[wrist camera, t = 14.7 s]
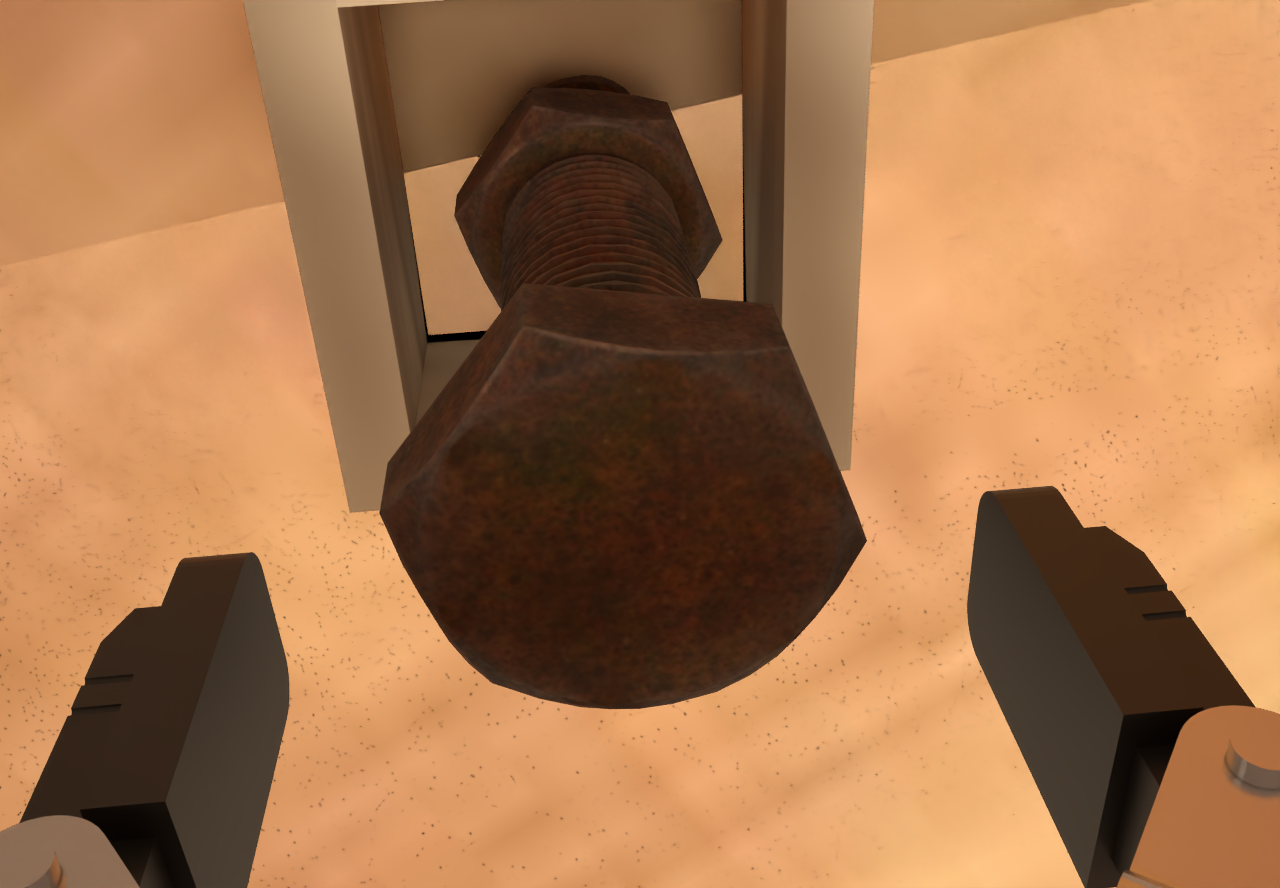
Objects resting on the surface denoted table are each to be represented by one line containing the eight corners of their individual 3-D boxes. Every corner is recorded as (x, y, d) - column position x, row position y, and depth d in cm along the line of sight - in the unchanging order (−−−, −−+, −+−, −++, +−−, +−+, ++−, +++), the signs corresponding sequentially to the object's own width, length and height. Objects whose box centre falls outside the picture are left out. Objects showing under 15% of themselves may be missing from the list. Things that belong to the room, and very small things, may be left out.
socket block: (816, -157, 24) (880, -126, 20) (803, 360, 30) (850, 470, 26) (279, -124, 24) (225, -85, 19) (374, 395, 30) (350, 512, 25)
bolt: (412, 67, 26) (306, 433, 13) (633, -34, 25) (750, 246, 12) (531, 297, 29) (541, 780, 16) (731, 212, 28) (909, 646, 15)
